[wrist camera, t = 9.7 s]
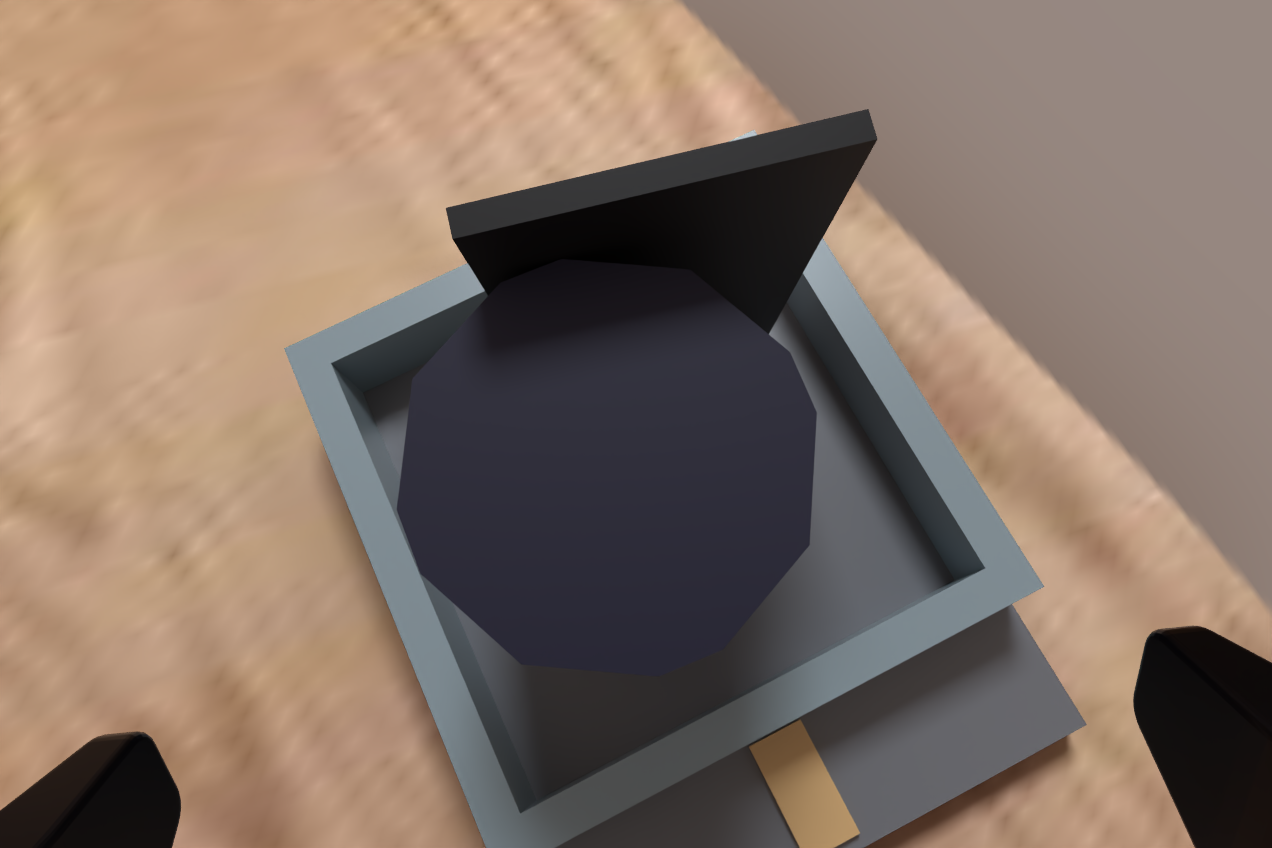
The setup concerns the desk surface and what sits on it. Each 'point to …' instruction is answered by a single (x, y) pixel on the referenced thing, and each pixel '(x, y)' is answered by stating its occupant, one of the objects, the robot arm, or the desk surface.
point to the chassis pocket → (763, 647)
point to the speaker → (627, 403)
